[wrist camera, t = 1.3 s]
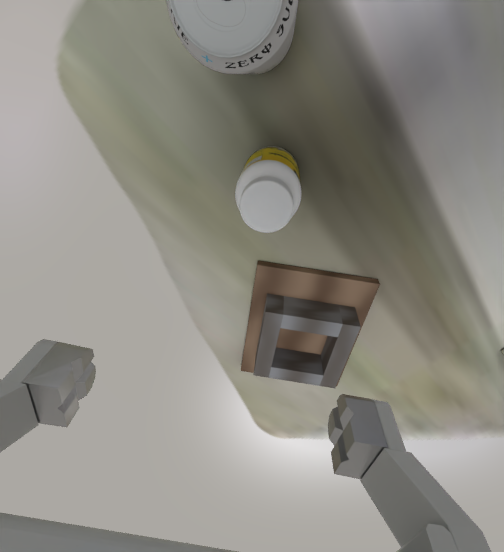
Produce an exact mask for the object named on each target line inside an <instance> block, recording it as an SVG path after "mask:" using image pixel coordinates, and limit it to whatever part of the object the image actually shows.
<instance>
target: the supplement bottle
mask: <svg viewBox="0 0 504 552" xmlns="http://www.w3.org/2000/svg"><path fill="white" fill-rule="evenodd" d="M301 193H302V192H301V183H300V174H299V168H298V165H297V163H296V160H295V159H294V157H293V156H292V155H291V154H290V153H289V152H288V151H286V150H285V149H282V148H280V147H276V146H268V147H264V148H261V149H259V150H257V151H256V152H255V153H253V154H252V156H251V157H250V158H249V159H248V161H247V163H246V165H245V167H244V169H243V171H242V173H241V175H240V177H239V179H238V182H237V185H236V190H235V199H236V203H237V206H238V209H239V211H240V214H241V217H242V219H243V220H244V222H245V223H246V224H247V225H248V226H249V227H250V228H252V229H254V230H256V231H259V232H263V233H271V232H275V231H278V230H280V229H281V228H283V227H284V226H285V225H286V224H287V223H288V222H289V221H290V219H291V217H292V216H293V215H294V214H295V213H296V211H297V209H298V207H299V205H300V202H301Z"/></svg>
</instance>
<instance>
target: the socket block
mask: <svg viewBox="0 0 504 552" xmlns="http://www.w3.org/2000/svg"><path fill="white" fill-rule="evenodd" d="M379 285H380V283H379V281H378V279H372V278H366V277H360V276H353V275H347V274H341V273H334V272H328V271H321V270H315V269H309V268H302V267H296V266H290V265H283V264H277V263H270V262H264V261H258V264H257V270H256V277H255V283H254V289H253V296H252V302H251V308H250V315H249V321H248V328H247V334H246V340H245V347H244V353H243V360H242V366H241V371H246V372H252V373H254V374H253V375H256V376H262V377H268V378H275V379H281V380H287V381H293V382H299V383H306V384H312V385H318V386H324V387H330V388H335V387H336V386H337V385H338V382H339V380H340V377H341V375H342V373H343V370H344V368H345V366H346V363H347V361H348V359H349V356H350V354H351V351H352V349H353V347H354V344H355V342H356V340H357V337H358V335H359V333H360V330H361V328H362V325H363V323H364V321H365V318H366V316H367V314H368V311H369V309H370V307H371V304H372V302H373V299H374V297H375V295H376V292H377V290H378V288H379Z"/></svg>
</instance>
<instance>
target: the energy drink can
mask: <svg viewBox="0 0 504 552" xmlns="http://www.w3.org/2000/svg"><path fill="white" fill-rule="evenodd" d="M166 2H167V7H168V11H169V15H170V19H171V21H172V24H173V26H174V29H175V31H176V33H177V35H178V37H179V38H180V40H181V42H182V44H183V45H184V46H185V48H186V49H187V50H188V51H189V52H190V54H191V55H192V56H193V57H194V58H195V59H197V60H198V61H199V62H200V63H201V64H203V65H205V66H206V67H208V68H210V69H212V70H214V71H218V72H221V73H225V74H261V73H265V72H267V71H270V70H272V69H273V68H274V67H276V66H277V65H278V64H279V63H280V62H281V61H282V60H283V59H284V57H285V55H286V54H287V52H288V50H289V48H290V45H291V43H292V39H293V35H294V28H295V21H296V14H297V7H298V0H166Z"/></svg>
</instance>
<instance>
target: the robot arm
mask: <svg viewBox="0 0 504 552" xmlns="http://www.w3.org/2000/svg"><path fill="white" fill-rule="evenodd" d="M93 357H94V354H93V350H92V349H90V348H85V347H80V346H76V345H71V344H66V343H61V342H56V341H51V340H45V339H43V340H41V341H39V342H37V343H36V345H34V347H33V348H32V349H31V350H30V351H29V352H28V353H27V354H26V355H25V356H24V357H23V358H22V360H20V362H19V363H18V364H17V365H16V366H15V367H14V368H13V369H12V370H11V371H10V372H9V373H8V374H7V375H6V377H5V378H4V379H3V380H1V379H0V452H1V451H3V450H4V449H6V448H7V447H8V446H10V445H11V444H12V443H14V442H15V441H17V440H18V439H19V438H21V437H22V436H23V435H25V434H26V433H28V432H29V431H30V430H32V429H33V428H35V427H36V426H38V423H41V424H48V425H55V426H62V427H68V425H69V424H70V422H71V420H72V418H73V417H74V416H75V414H76V412H77V410H78V409H79V403H78V400H80V399H82V398H83V397H85V396H87V394H88V393H89V391H90V389H91V388H92V384H93V382H94V379H95V374H96V369H95V366H94V364H93V363H92V362H91V360H92V359H93ZM337 405H338V407H336V408H334V409H332V411H331V413H330V416H329V421H328V434H329V439H330V440H331V442H332V443H333V444H334V448H333V450H332V452H331V455H332V462H333V469H334V474H337V475H342V476H348V477H352V478H358V479H361V483H362V484H363V486H364V488H365V489H366V491H367V492H368V494H369V496H370V497H371V499H372V500H373V502H374V504H375V505H376V507H377V509H378V510H379V512H380V514H381V515H382V517H383V518H384V520H385V522H386V523H387V525H388V526H389V528H390V530H391V531H392V533H393V535H394V536H395V538H396V539H397V541H398V543H399V544H400V546H401V548H400V549H399V550H398V551H397V552H491V550H490V548H489V546H488V544H487V541H486V539H485V537H484V535H483V532H482V531H481V530H480V529H479V527H478V526H477V525H476V524H475V523H474V522H473V521H472V520H471V519H470V517H469V516H468V515H467V514H466V513H465V512H464V511H463V510H462V509H461V507H460V506H459V505H457V503H456V502H455V501H454V500H453V499H452V498H451V496H450V495H449V494H448V493H447V492H446V491H445V490H444V489H443V488H442V486H441V485H440V484H439V483H438V482H437V481H436V480H435V479H434V478H433V476H431V474H430V473H429V472H428V471H427V470H426V469H425V468H424V467H423V465H421V463H420V462H419V461H418V460H417V459H416V458H415V457H414V455H413V454H412V453H410V452H406V449H405V447H404V444H403V441H402V438H401V435H400V432H399V429H398V427H397V424H396V421H395V418H394V415H393V412H392V410H391V407H390V405H389V404H388V402H383V401H378V400H371V399H368V398H362V397H356V396H350V395H345V394H342V395H340V396H339V398H338V399H337ZM0 552H237V551H231V550H225V549H218V548H212V547H206V546H200V545H194V544H188V543H182V542H176V541H170V540H164V539H158V538H152V537H145V536H139V535H133V534H127V533H121V532H115V531H109V530H103V529H97V528H90V527H85V526H79V525H72V524H66V523H60V522H54V521H48V520H42V519H36V518H30V517H24V516H17V515H12V514H5V513H0Z"/></svg>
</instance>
